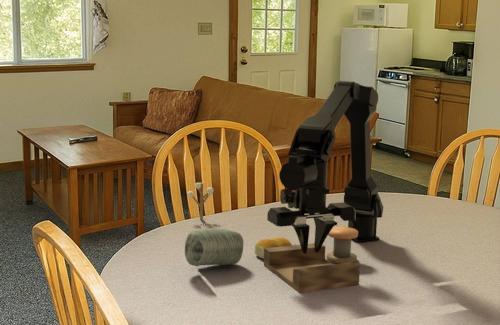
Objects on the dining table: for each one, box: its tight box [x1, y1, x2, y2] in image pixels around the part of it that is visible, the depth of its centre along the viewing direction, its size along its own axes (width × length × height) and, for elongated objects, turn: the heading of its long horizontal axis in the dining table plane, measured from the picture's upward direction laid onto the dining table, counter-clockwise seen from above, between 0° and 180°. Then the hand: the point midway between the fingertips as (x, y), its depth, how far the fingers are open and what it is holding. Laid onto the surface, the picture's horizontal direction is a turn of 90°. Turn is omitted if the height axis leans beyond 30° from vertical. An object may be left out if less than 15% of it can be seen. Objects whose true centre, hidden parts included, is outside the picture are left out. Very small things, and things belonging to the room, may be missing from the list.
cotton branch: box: [187, 182, 215, 221], centre depth 185 cm, size 7×6×12 cm
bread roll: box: [254, 237, 293, 260], centre depth 158 cm, size 8×9×4 cm
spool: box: [184, 227, 244, 267], centre depth 149 cm, size 14×10×10 cm
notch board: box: [263, 242, 361, 293], centre depth 146 cm, size 14×18×4 cm
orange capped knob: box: [326, 226, 358, 264], centre depth 156 cm, size 7×7×7 cm
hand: (310, 252), depth 145 cm, fingers open, 3 cm apart
